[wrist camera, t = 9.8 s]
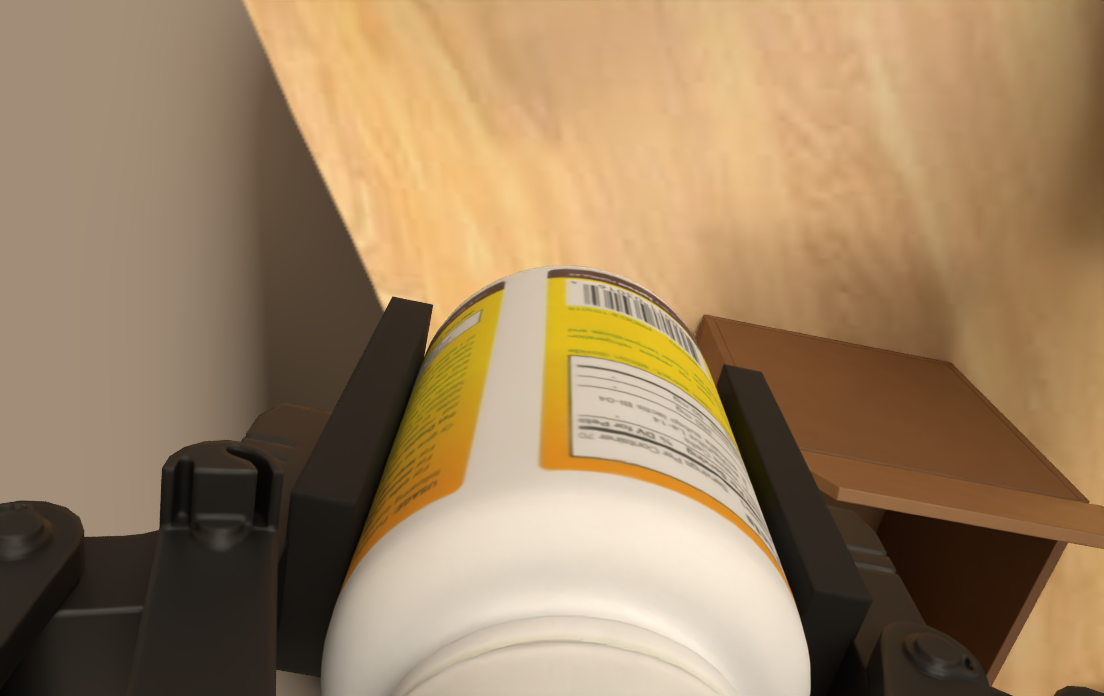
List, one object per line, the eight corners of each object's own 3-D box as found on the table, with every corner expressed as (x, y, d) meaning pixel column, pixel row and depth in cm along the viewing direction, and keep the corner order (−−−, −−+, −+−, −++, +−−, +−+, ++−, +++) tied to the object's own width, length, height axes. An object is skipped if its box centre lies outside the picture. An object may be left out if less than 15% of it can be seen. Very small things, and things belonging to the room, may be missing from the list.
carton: (704, 314, 43) (806, 555, 25) (952, 362, 44) (1217, 627, 26) (632, 555, 49) (675, 888, 31) (853, 593, 50) (1016, 938, 32)
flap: (761, 453, 31) (763, 443, 31) (1099, 516, 32) (1101, 505, 32) (836, 501, 24) (839, 486, 24) (1261, 577, 25) (1264, 564, 25)
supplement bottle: (452, 526, 18) (328, 1113, 9) (394, 276, 16) (152, 704, 7) (719, 495, 18) (886, 1078, 8) (697, 235, 16) (889, 630, 6)
